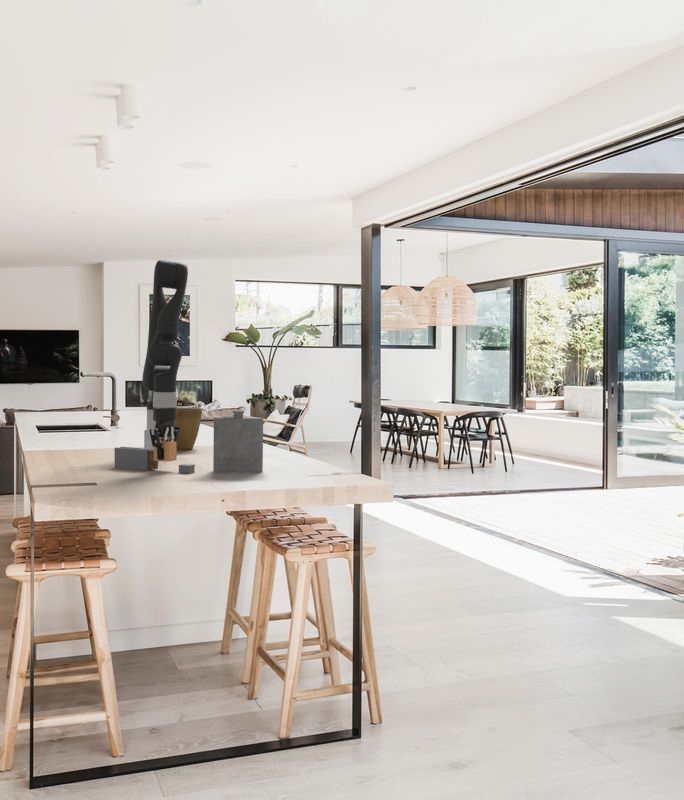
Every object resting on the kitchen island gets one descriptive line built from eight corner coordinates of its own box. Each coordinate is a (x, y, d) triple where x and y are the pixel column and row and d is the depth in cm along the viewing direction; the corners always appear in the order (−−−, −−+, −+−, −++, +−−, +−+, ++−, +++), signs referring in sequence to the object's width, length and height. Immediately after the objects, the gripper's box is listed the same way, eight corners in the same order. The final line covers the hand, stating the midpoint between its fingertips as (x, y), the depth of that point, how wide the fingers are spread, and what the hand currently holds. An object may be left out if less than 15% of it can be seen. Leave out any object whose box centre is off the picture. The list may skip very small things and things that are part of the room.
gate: (120, 466, 284) (120, 448, 283) (123, 465, 285) (123, 447, 285) (155, 469, 278) (155, 450, 278) (158, 468, 279) (158, 450, 279)
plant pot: (208, 448, 343) (209, 408, 342) (189, 452, 329) (189, 410, 328) (176, 446, 348) (177, 406, 348) (156, 449, 335) (156, 408, 334)
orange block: (153, 460, 277) (153, 442, 277) (161, 459, 281) (160, 441, 280) (169, 461, 275) (169, 442, 274) (176, 460, 278) (176, 441, 278)
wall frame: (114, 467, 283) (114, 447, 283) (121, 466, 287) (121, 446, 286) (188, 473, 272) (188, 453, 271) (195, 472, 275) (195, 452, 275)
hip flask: (262, 471, 281) (263, 410, 280) (262, 472, 277) (263, 411, 276) (213, 470, 280) (214, 409, 279) (212, 472, 276) (213, 410, 275)
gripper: (168, 404, 285) (168, 455, 286) (141, 406, 272) (141, 460, 273) (187, 405, 282) (187, 457, 283) (161, 407, 269) (161, 462, 270)
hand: (164, 458), depth 278 cm, fingers closed on orange block, 4 cm apart
